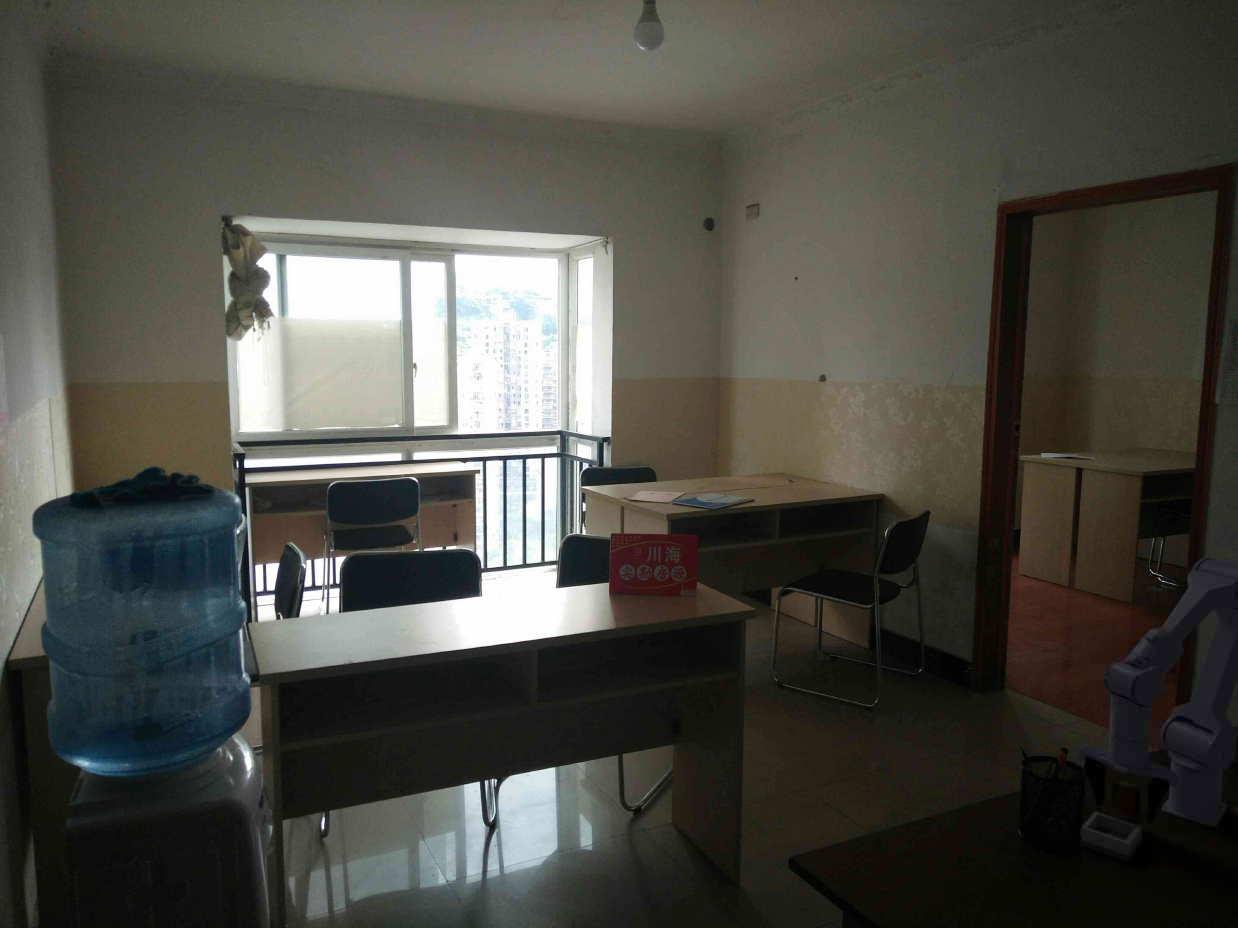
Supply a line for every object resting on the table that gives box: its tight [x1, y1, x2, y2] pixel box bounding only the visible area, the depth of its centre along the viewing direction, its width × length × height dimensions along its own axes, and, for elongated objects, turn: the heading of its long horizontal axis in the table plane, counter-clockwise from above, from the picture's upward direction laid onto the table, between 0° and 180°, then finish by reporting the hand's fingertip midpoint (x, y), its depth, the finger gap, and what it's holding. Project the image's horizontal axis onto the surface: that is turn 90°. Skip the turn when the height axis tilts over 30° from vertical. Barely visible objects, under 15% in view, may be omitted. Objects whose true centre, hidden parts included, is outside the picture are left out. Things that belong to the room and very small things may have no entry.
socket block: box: [1080, 811, 1143, 863], centre depth 140 cm, size 7×7×3 cm
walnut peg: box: [1111, 780, 1141, 826], centre depth 145 cm, size 4×4×7 cm
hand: (1125, 812), depth 145 cm, fingers open, 7 cm apart
